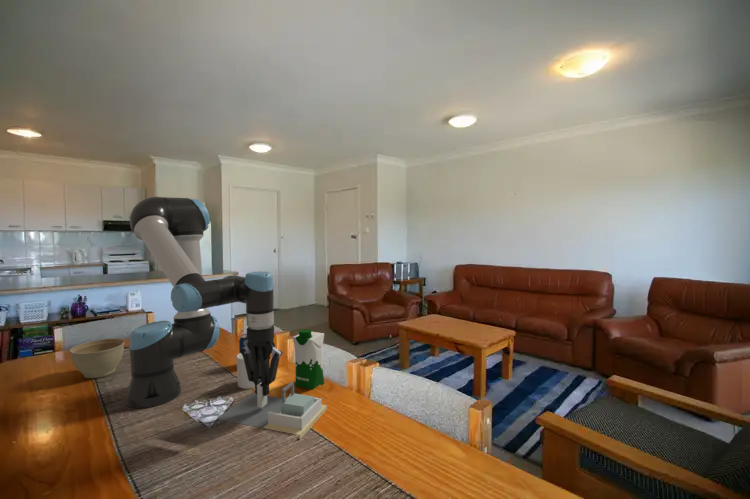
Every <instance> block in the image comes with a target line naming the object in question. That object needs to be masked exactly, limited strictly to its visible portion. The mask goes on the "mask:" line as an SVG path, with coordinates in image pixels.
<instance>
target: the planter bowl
mask: <svg viewBox="0 0 750 499" xmlns="http://www.w3.org/2000/svg"><path fill="white" fill-rule="evenodd" d="M124 346H125V340H124V339H123V338H122V339H121V338H103V339H98V340H97V339H95V340H92V341H87V342H84V343H80V344H77V345H76V346H73V347H72V348H70V350H69V354H70V355H71V356H70V357H71V361H72V363H73V365H74V367H75V368H76V370H78V371H79V372H80V373H81V374H83V377H84V378H86V379H97V378H103V377H106V376H109V375H111V374H113V373H114V372H116V371H117V366H118V365H119V364H120V362H121V361H122V358H123V357H124V356H123V355H124V352H125V347H124Z"/></svg>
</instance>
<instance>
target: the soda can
mask: <svg viewBox="0 0 750 499" xmlns="http://www.w3.org/2000/svg"><path fill="white" fill-rule="evenodd" d="M238 342H239V344H238V346H239V348H238V349H239V353H241V352H240V349H242V348H244V347H246V346H247V343H248V340H247V333H244V334H242V335H240V338H239V340H238Z"/></svg>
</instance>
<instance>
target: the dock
mask: <svg viewBox="0 0 750 499" xmlns="http://www.w3.org/2000/svg"><path fill="white" fill-rule="evenodd" d="M290 395H291V393H289V395H288V396H290ZM322 399H323V398H322V397H321V398H320V397H315V396H314V404H313V405H312V406H311V407H310V408H309V409H308V410H307V411H306V412H305V413H304V414H303V415H302V416H301V417H299V416H293V415H287V414H281V402H282V397H278V396H270V395H267V404H266V405H265V406H264V407H262V408H260V407H258V406H257V394H255V392H254V393H252V394H250V395H249V396H247V397H246V398H245V399H243V400H242V401H240V402H238V404H236V405H235V406H233V407H232V408H231V409H229V410H228V411H226V412H225V413H223V414H222V415H221V416H220V417H218V418H217V420H219V421H225V422H229V423H235V424H241V425H245V426H250V427H251V426H252V427H256V428H261V429H266V430H271V431H277V432H282V433H288V434H292V435H298V437H297V438H296V440H301V439H302V438H303V437H304V436H305V434H307V432H308V431H309V430H310V429H311V428H312V427H313V426H314V424H315V423H316V422H317V421H318V420H319V418H320V417H322V416H323V414H324V413H325V412H327V410H328V405H327V404H323V403H322V402H323V401H322Z"/></svg>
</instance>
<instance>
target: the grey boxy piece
mask: <svg viewBox="0 0 750 499" xmlns="http://www.w3.org/2000/svg"><path fill="white" fill-rule="evenodd" d="M289 389H290V394H291V395H290V394H289V395H290V396H289V395H288V396H287V394H286V391H288V390H289ZM286 396H287V397H286ZM314 397H315V396H313V395H307V394H300V393H295V381H291V382H289V383H288V384H287V385H285V386H284V387H283V388H282V389H281V398H282V402H281V414H287V415H293V416H299V417H301V416H302V415H303V414H304V413H305V412H306V411H307V410H308V409H309V408H310V407H311V406H312V405H313V404H314Z"/></svg>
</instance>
